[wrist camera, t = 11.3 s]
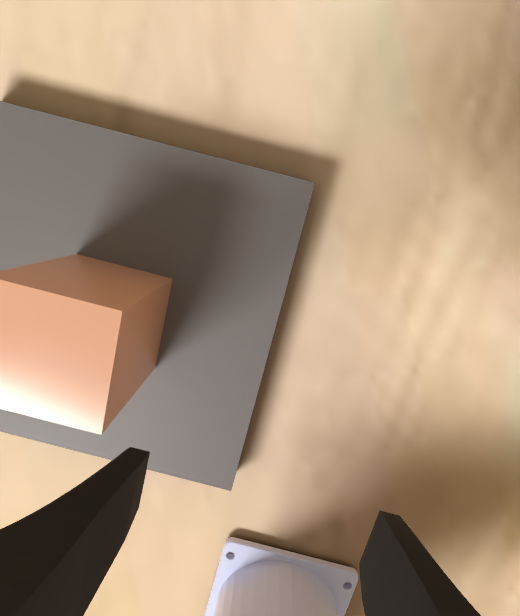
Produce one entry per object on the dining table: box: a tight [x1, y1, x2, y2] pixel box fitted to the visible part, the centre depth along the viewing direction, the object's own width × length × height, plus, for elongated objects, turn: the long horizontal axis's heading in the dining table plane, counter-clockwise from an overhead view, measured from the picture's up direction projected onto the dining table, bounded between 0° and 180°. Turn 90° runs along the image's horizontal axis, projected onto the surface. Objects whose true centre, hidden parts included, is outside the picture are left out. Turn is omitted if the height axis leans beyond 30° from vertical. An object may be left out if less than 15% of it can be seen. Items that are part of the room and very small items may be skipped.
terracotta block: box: [0, 254, 173, 435], centre depth 16 cm, size 5×5×6 cm
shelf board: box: [0, 101, 315, 491], centre depth 20 cm, size 16×15×2 cm
